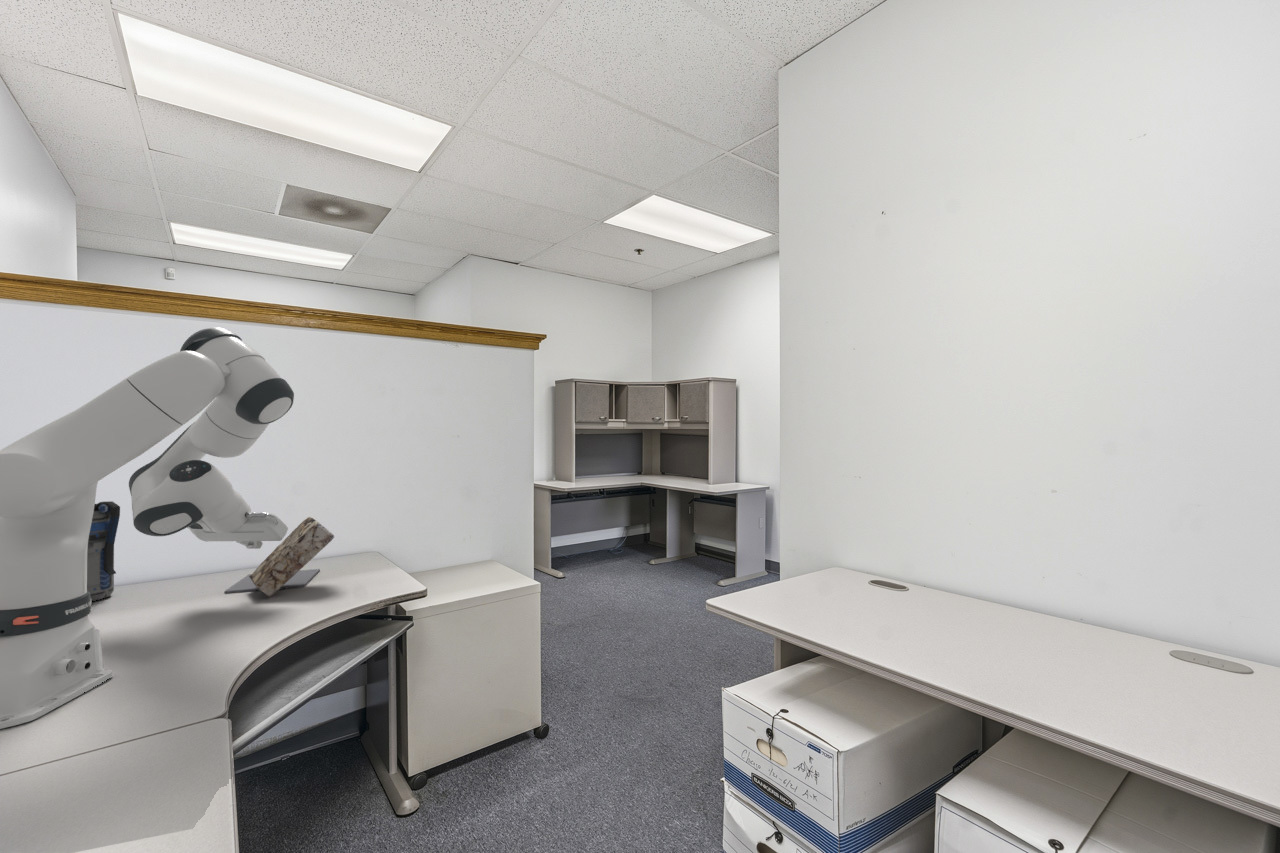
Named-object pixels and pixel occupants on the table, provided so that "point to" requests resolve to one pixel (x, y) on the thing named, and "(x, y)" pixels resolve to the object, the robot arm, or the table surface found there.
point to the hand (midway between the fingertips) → (255, 546)
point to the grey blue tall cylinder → (102, 550)
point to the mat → (296, 581)
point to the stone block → (291, 556)
